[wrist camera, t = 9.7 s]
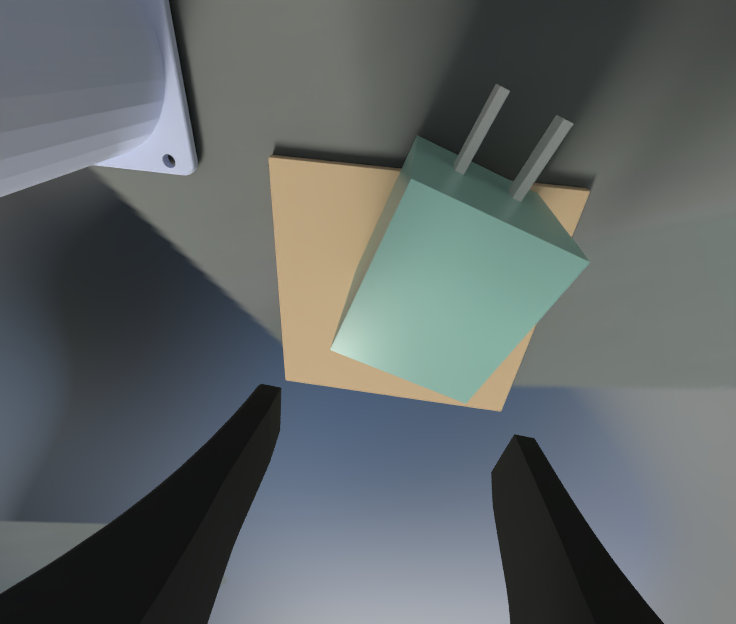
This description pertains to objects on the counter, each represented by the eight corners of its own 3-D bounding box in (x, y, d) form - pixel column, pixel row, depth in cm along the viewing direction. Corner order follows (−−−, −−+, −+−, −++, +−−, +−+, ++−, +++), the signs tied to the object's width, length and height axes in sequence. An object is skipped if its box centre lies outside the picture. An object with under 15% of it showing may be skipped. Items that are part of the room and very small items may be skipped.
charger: (355, 270, 17) (329, 350, 12) (450, 60, 12) (463, 67, 8) (456, 312, 18) (465, 403, 13) (584, 128, 13) (668, 172, 8)
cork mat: (287, 375, 22) (285, 380, 22) (271, 154, 15) (268, 157, 15) (499, 405, 21) (500, 411, 21) (586, 188, 14) (590, 191, 14)
